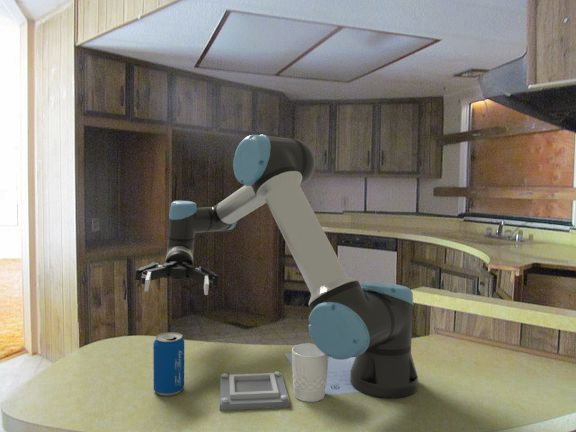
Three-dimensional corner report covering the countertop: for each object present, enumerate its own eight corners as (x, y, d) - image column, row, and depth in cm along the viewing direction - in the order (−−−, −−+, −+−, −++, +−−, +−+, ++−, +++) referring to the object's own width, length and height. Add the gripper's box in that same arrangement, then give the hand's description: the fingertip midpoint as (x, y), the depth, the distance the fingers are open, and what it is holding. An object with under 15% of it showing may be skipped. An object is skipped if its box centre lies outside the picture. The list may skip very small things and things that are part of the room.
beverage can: (166, 400, 98) (166, 343, 97) (147, 391, 102) (147, 337, 101) (190, 389, 103) (190, 335, 102) (171, 381, 107) (171, 329, 106)
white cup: (302, 406, 96) (303, 358, 95) (284, 391, 103) (285, 346, 102) (334, 399, 100) (335, 352, 99) (315, 384, 107) (316, 341, 106)
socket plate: (281, 378, 110) (281, 369, 109) (289, 407, 96) (289, 396, 96) (220, 380, 108) (220, 371, 107) (219, 410, 94) (219, 399, 94)
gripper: (223, 279, 133) (229, 306, 112) (130, 273, 127) (119, 299, 107) (226, 253, 131) (232, 275, 111) (133, 246, 126) (121, 267, 105)
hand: (177, 287), depth 109 cm, fingers open, 13 cm apart
